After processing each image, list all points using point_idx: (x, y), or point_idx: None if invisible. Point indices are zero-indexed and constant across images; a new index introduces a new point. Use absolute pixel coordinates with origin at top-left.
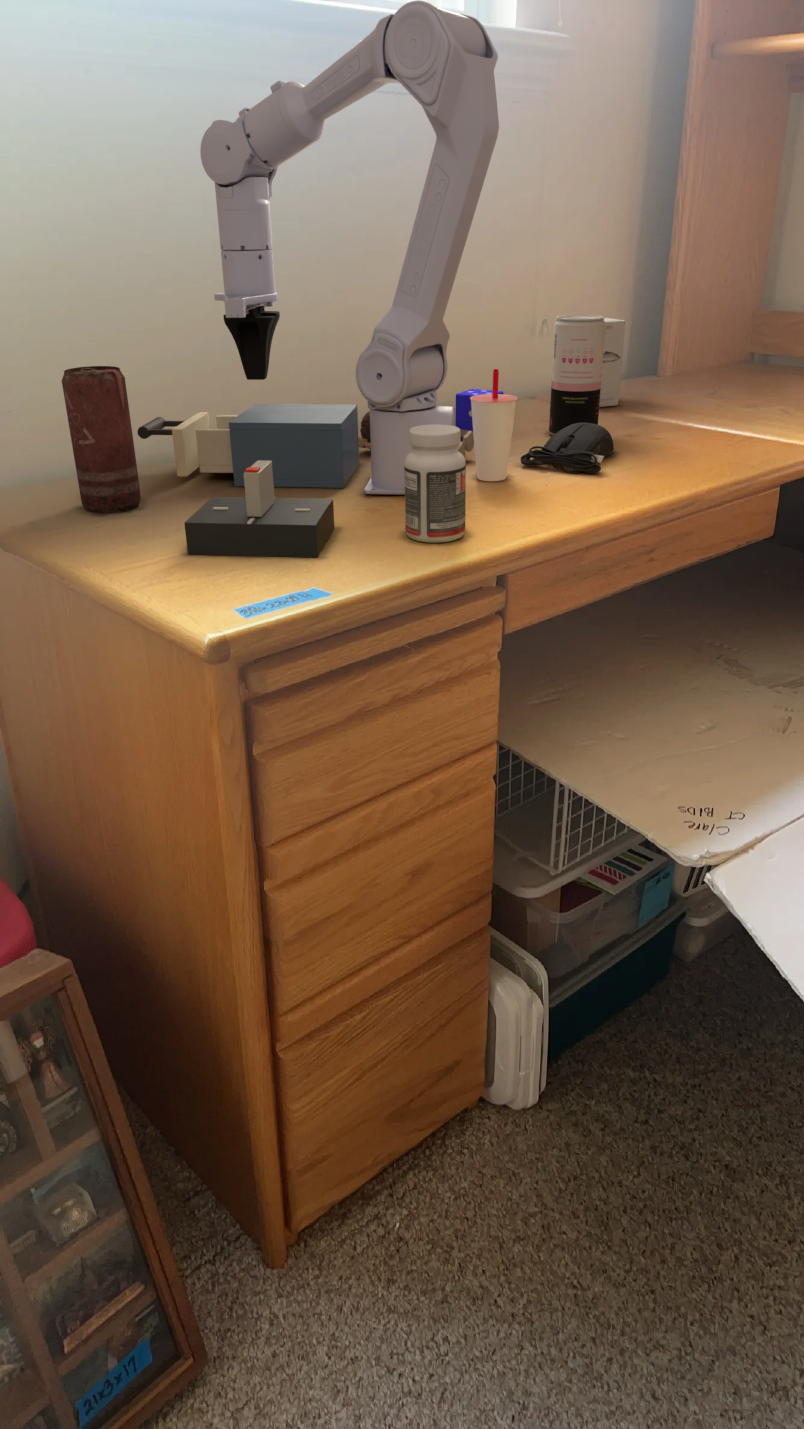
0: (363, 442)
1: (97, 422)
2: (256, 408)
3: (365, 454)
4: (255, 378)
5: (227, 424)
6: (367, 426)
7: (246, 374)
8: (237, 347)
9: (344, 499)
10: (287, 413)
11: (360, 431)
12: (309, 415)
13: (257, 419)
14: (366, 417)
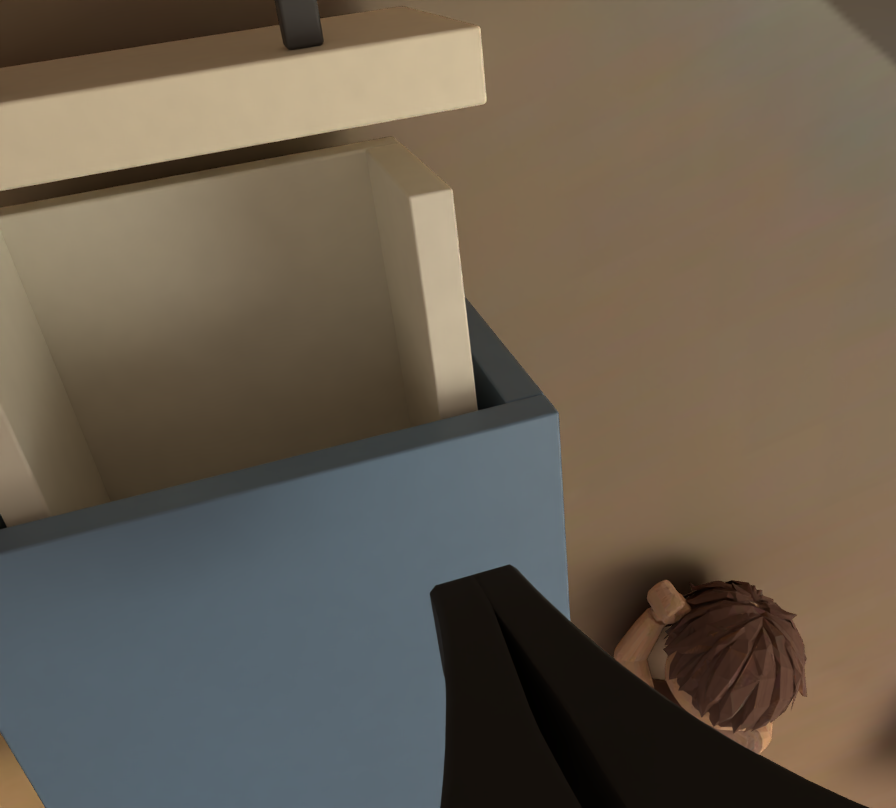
0: (655, 613)
1: None
2: (412, 496)
3: (647, 580)
4: (439, 641)
5: (406, 254)
6: (697, 661)
7: (437, 612)
8: (445, 776)
9: (4, 793)
10: (304, 698)
11: (711, 611)
12: (279, 796)
13: (79, 663)
14: (724, 680)
